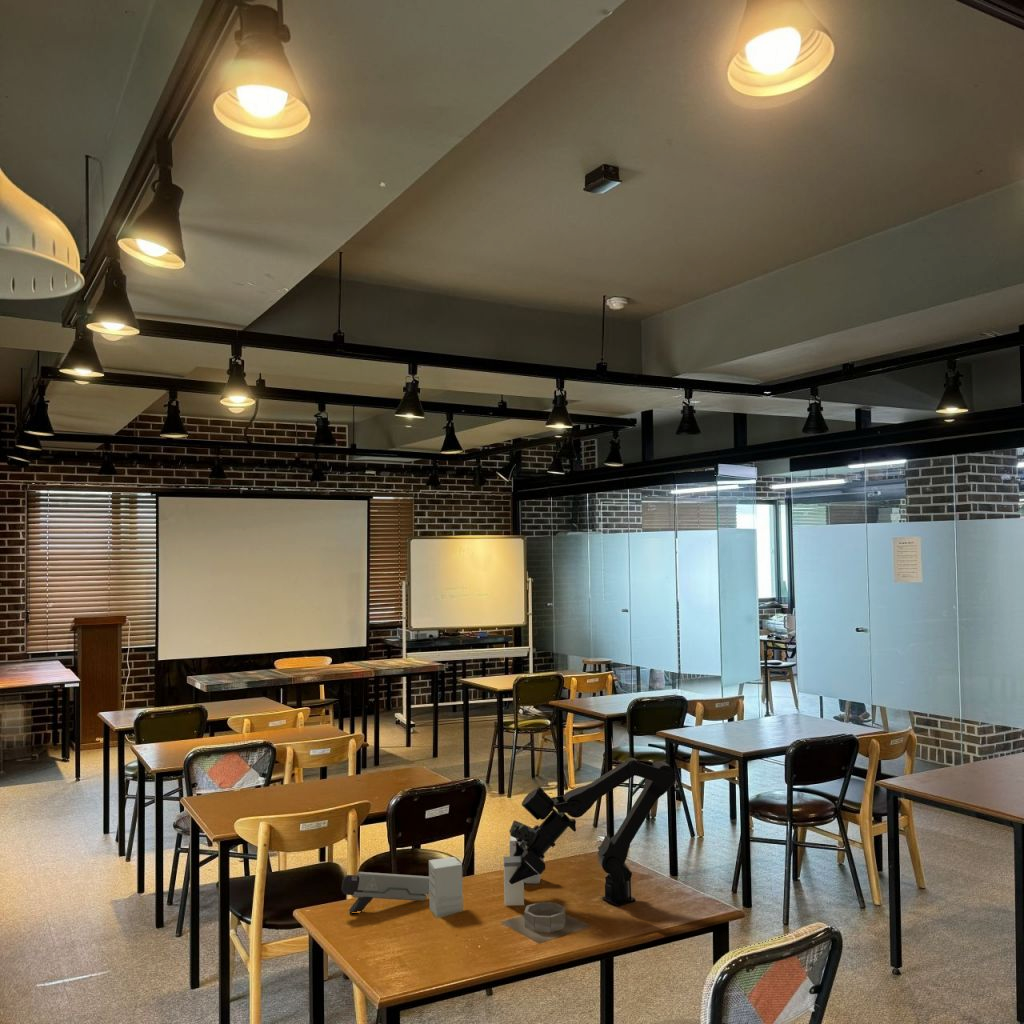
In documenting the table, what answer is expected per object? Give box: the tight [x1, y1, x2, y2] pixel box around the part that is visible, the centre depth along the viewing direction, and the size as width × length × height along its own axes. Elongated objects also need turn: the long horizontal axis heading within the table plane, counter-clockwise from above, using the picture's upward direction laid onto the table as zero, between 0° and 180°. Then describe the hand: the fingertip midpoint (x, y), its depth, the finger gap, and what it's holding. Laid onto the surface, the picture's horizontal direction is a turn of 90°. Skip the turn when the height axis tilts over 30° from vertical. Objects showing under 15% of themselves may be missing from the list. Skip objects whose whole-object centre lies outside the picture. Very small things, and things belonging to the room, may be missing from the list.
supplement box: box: [428, 856, 464, 919], centre depth 228 cm, size 7×7×13 cm
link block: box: [503, 856, 525, 907], centre depth 231 cm, size 5×5×12 cm
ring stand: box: [499, 901, 592, 944], centre depth 215 cm, size 16×16×5 cm
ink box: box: [509, 836, 542, 884], centre depth 250 cm, size 9×5×12 cm, turn 84°
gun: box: [340, 871, 429, 914], centre depth 232 cm, size 2×25×10 cm, turn 117°
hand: (508, 876), depth 231 cm, fingers open, 9 cm apart
